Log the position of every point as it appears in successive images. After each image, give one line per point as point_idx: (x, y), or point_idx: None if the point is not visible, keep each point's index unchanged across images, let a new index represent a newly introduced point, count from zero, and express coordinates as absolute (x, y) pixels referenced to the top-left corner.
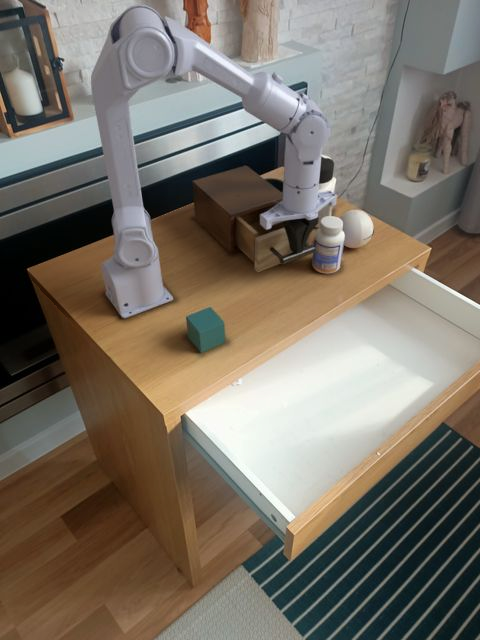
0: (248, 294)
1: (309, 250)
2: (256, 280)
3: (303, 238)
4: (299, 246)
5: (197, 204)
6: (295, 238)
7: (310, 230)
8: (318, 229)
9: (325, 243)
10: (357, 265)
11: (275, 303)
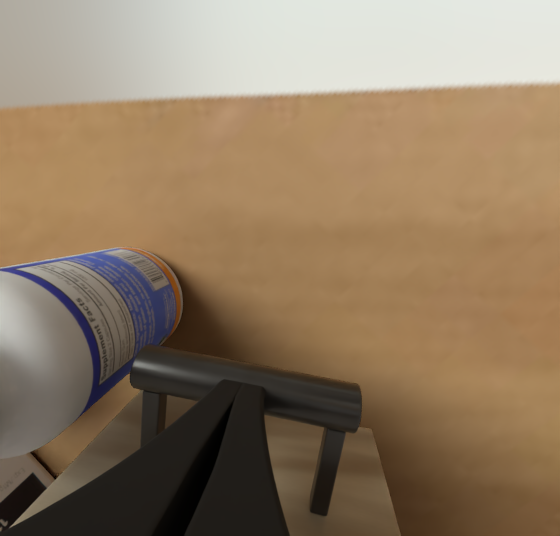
0: (474, 370)
1: (175, 363)
2: (389, 403)
3: (191, 466)
4: (244, 418)
5: None
6: (284, 526)
7: (65, 526)
8: (9, 452)
9: (62, 331)
10: (41, 223)
11: (441, 267)
